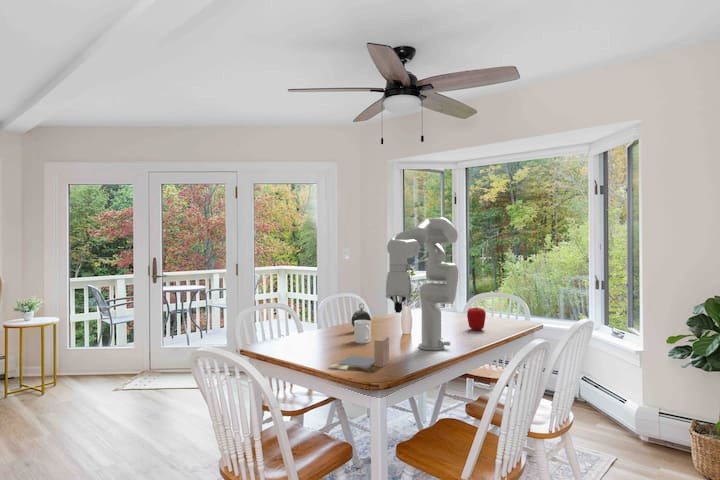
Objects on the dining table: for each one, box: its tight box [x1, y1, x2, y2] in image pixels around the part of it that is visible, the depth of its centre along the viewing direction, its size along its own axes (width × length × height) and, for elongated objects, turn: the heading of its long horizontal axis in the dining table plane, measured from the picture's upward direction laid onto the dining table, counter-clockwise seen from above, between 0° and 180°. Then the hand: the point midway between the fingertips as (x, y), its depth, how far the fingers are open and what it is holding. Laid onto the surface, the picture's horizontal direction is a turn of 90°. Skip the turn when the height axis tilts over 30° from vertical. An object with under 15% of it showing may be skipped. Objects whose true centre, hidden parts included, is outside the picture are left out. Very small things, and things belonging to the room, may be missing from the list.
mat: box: [338, 355, 374, 367], centre depth 199 cm, size 14×14×1 cm
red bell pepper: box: [466, 306, 487, 331], centre depth 266 cm, size 11×10×14 cm
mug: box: [353, 320, 372, 345], centre depth 236 cm, size 9×12×11 cm
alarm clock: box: [351, 303, 372, 328], centre depth 263 cm, size 11×5×16 cm, turn 121°
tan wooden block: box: [373, 335, 390, 368], centre depth 196 cm, size 4×9×11 cm, turn 161°
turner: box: [328, 363, 373, 372], centre depth 189 cm, size 18×5×1 cm, turn 71°
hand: (398, 312), depth 193 cm, fingers closed
